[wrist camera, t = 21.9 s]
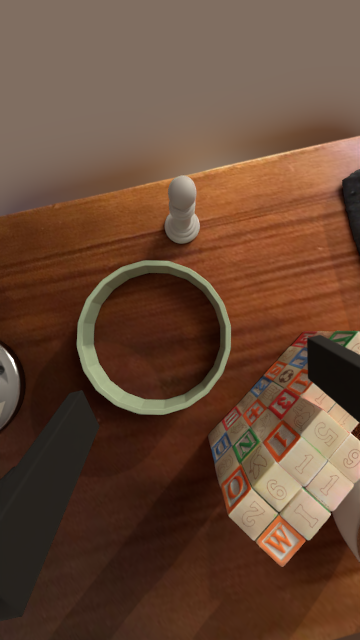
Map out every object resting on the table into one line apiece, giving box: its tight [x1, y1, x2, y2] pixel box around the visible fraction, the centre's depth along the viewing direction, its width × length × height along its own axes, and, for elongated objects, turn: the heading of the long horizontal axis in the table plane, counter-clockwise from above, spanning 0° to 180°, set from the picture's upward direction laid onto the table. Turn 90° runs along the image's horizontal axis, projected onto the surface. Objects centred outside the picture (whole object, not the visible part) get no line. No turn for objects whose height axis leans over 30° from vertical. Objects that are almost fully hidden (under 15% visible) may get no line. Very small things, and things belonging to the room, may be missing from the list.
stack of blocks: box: [208, 331, 360, 567], centre depth 22 cm, size 21×6×12 cm, turn 137°
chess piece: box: [165, 176, 200, 244], centre depth 25 cm, size 5×5×9 cm
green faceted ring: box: [77, 260, 231, 415], centre depth 27 cm, size 20×20×4 cm
